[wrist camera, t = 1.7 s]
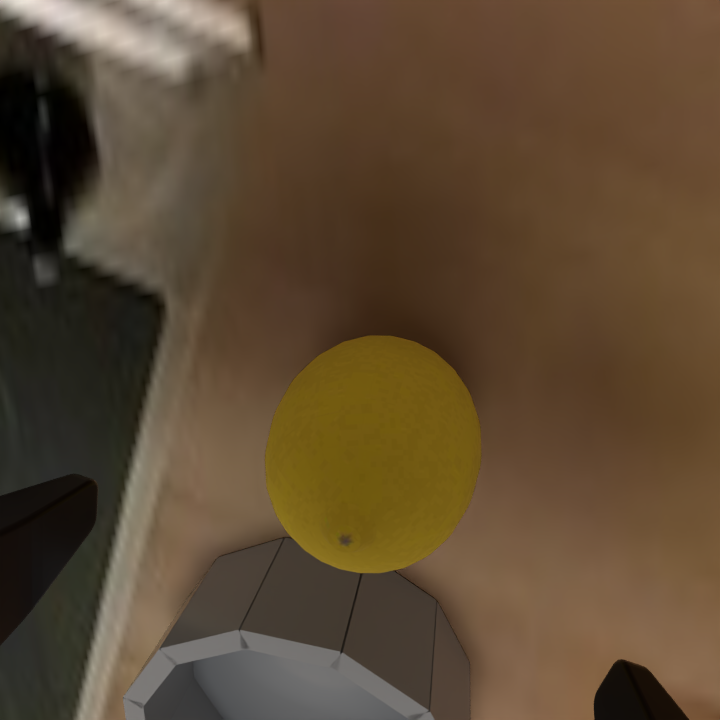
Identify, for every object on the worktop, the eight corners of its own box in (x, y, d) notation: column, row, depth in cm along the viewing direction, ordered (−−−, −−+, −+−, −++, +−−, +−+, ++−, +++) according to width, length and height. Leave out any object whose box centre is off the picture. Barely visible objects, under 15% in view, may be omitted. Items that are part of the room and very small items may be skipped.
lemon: (414, 483, 19) (381, 687, 11) (288, 397, 18) (170, 548, 11) (513, 370, 17) (552, 531, 9) (372, 271, 16) (295, 355, 9)
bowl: (511, 742, 22) (521, 873, 18) (269, 773, 26) (232, 887, 22) (387, 506, 19) (366, 599, 15) (136, 581, 23) (64, 671, 19)
